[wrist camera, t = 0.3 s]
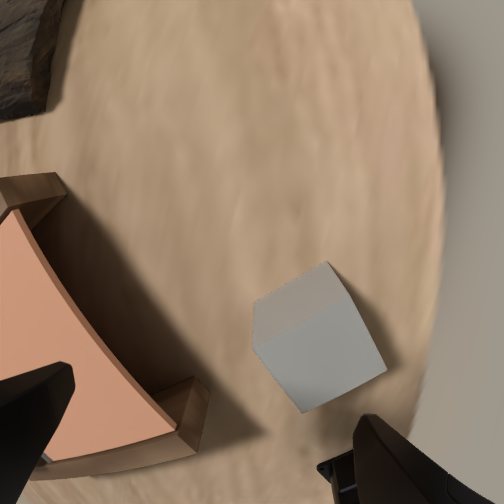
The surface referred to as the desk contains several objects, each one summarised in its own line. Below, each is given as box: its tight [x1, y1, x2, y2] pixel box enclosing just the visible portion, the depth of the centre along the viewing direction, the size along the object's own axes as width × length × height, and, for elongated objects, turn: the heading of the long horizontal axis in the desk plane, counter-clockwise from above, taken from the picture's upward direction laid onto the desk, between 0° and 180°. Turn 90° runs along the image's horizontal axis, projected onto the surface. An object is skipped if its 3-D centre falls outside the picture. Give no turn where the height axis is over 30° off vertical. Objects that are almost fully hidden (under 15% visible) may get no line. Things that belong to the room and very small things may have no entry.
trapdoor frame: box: [0, 172, 210, 481], centre depth 20 cm, size 21×25×6 cm
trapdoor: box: [0, 209, 177, 463], centre depth 17 cm, size 16×22×5 cm
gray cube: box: [252, 261, 387, 414], centre depth 19 cm, size 6×6×6 cm
